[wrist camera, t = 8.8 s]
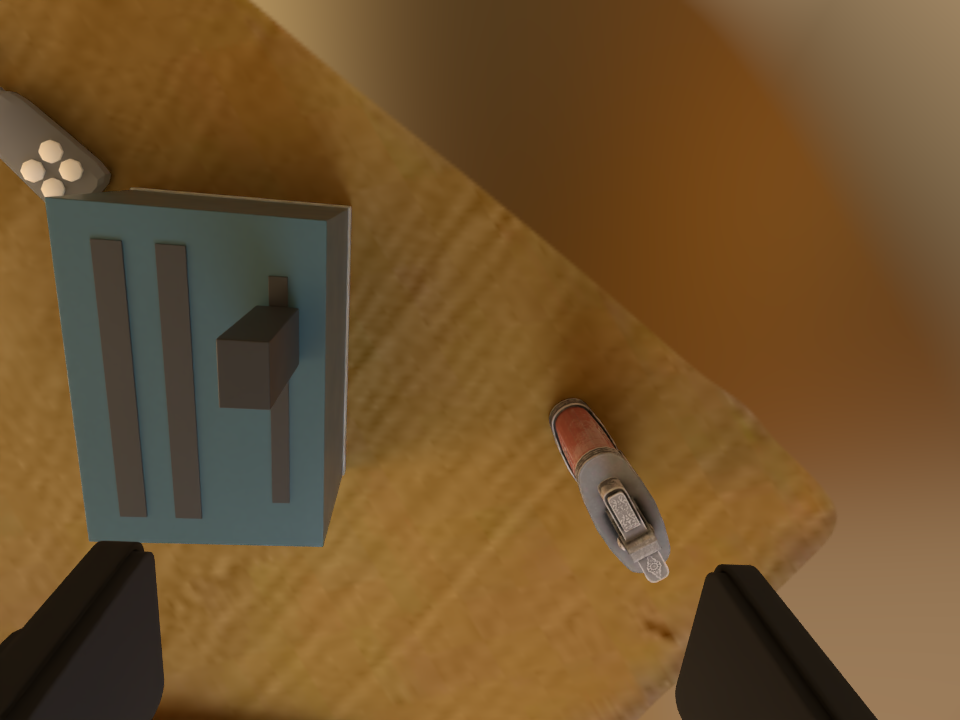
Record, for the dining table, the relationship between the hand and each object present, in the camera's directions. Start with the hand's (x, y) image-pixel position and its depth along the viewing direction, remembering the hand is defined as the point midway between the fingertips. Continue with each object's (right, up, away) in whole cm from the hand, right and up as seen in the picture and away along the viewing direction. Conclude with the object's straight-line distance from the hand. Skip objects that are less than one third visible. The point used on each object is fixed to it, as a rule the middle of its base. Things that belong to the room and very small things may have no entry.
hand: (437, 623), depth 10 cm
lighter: (+8, -1, +28) cm, 29 cm away
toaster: (-13, +6, +24) cm, 28 cm away
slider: (-8, +5, +16) cm, 19 cm away
